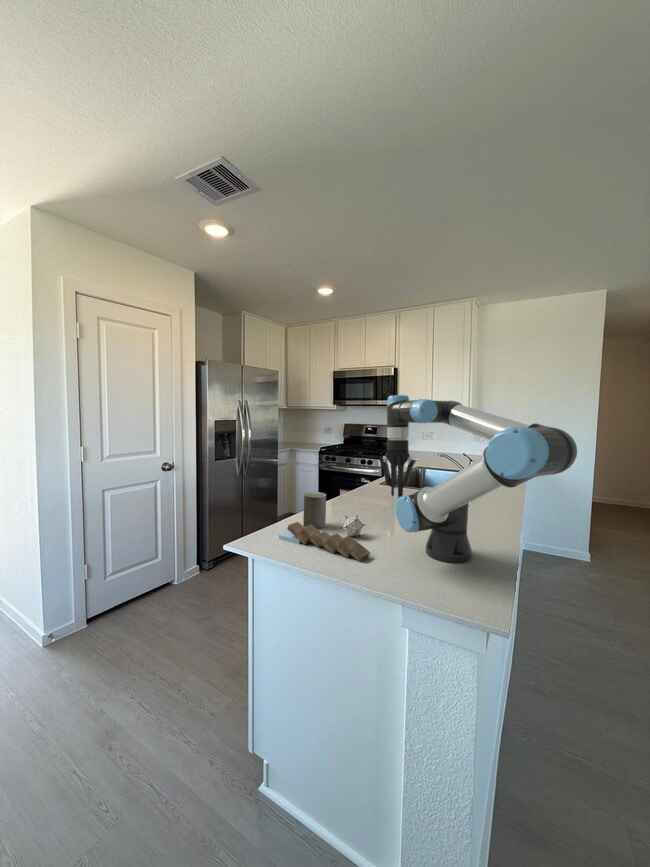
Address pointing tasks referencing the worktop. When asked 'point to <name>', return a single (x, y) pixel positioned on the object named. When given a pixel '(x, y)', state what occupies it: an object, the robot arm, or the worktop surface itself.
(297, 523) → the domino
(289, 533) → the domino
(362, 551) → the domino
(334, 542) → the domino
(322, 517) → the pillar candle
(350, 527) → the game die
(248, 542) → the worktop surface
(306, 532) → the domino
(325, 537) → the domino
